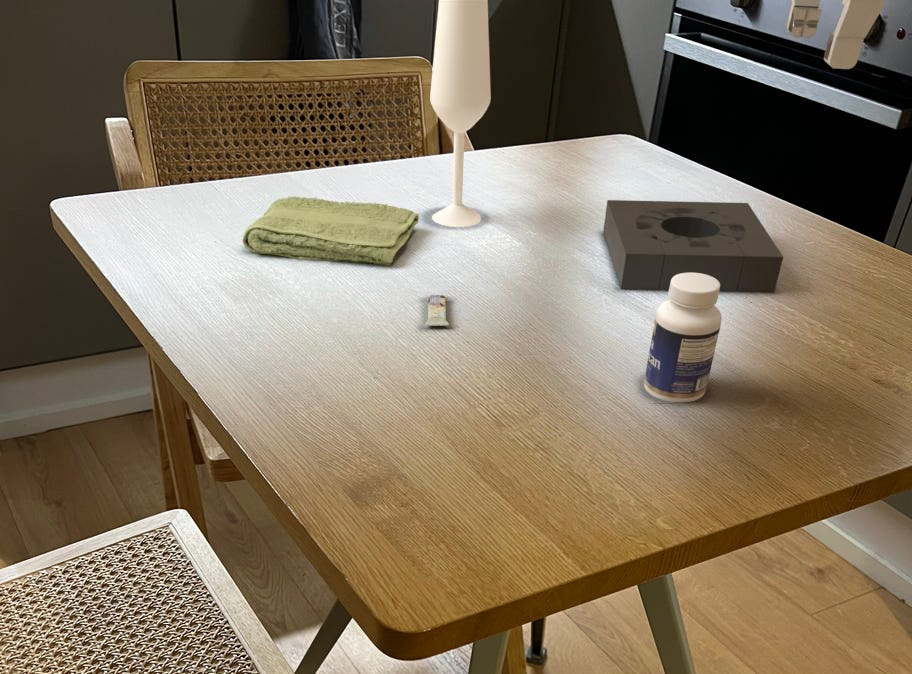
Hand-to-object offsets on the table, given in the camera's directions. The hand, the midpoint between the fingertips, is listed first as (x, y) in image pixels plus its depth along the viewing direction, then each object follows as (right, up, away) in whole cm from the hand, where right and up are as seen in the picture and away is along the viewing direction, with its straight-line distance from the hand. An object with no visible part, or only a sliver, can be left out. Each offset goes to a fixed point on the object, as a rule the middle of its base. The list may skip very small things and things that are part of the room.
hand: (817, 50), depth 67 cm
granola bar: (-26, -9, +28) cm, 40 cm away
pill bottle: (-6, -19, +18) cm, 27 cm away
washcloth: (-38, +4, +42) cm, 57 cm away
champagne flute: (-24, +9, +48) cm, 55 cm away
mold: (+1, 0, +39) cm, 39 cm away
